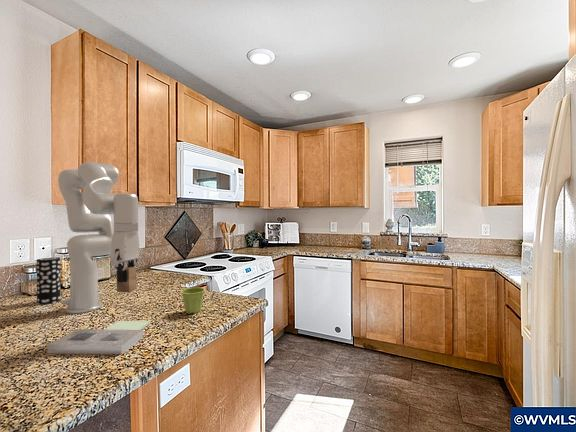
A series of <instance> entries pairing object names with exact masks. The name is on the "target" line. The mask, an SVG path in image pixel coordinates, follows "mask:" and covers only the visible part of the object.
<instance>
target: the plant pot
mask: <svg viewBox="0 0 576 432" xmlns="http://www.w3.org/2000/svg"><path fill="white" fill-rule="evenodd" d="M205 291H206V289H205V288H203V287H188V288H185V289H182V290H181V291H180V293H181V296H182V298H183V305H184V310H185V313H187V314H192V313H193V314H197V313H200V312H201V310H202V305H203V297H204V293H205Z"/></svg>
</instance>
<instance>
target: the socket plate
mask: <svg viewBox="0 0 576 432" xmlns="http://www.w3.org/2000/svg"><path fill="white" fill-rule="evenodd" d="M143 338H144V329H142V330H104V329H99V328H98V329H94V328H93V329H91V328H90V329H89V328H88V329H87V328H85V329H83V328H80V329H79V328H76V329H75V330H73V331H71V332H69V333H67V334H65V335H64V336H61V337H59V338H58V339H55V340H54V341H52V342H50V343H48V344H47V354H74V355H75V354H79V355H82V354H83V355H86V354H88V355H90V354H91V355H94V354H95V355H122V354H124V353H125V352H127V350H129V349H130V348H132V347H133V346H134V345H135V344H136V343H139V341H141V340H142V339H143Z"/></svg>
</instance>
